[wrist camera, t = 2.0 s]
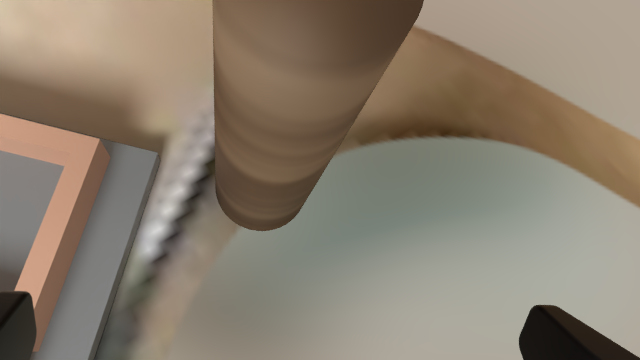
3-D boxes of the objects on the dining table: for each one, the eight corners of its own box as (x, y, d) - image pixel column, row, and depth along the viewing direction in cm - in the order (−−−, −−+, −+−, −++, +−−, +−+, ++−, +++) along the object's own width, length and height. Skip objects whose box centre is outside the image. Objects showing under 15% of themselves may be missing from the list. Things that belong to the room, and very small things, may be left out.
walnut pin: (295, 240, 22) (410, 87, 9) (204, 218, 21) (183, 23, 8) (314, 157, 23) (437, -83, 10) (228, 134, 23) (243, -146, 10)
